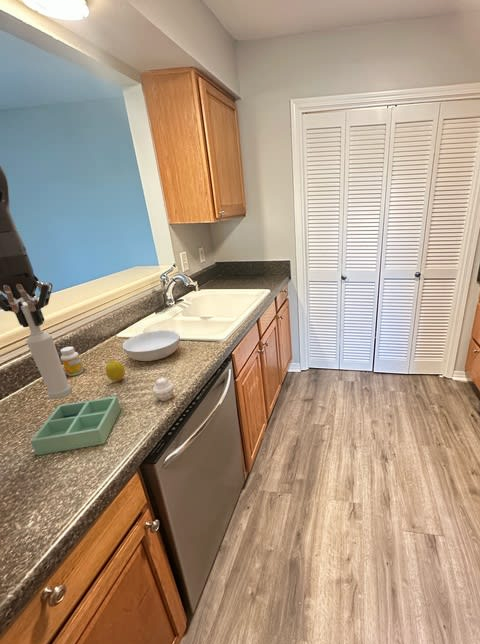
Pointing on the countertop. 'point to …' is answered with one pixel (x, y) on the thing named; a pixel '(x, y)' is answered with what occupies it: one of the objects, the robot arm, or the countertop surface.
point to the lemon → (115, 370)
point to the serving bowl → (152, 345)
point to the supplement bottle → (71, 361)
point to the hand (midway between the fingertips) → (33, 325)
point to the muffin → (163, 389)
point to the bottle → (46, 359)
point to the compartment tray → (77, 426)
